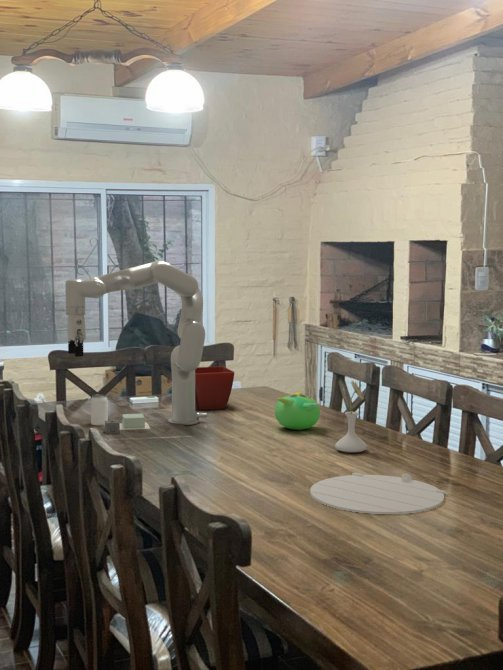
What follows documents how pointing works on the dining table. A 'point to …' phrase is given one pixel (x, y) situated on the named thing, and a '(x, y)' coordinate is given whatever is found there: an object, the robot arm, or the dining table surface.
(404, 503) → the lazy susan
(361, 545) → the dining table surface
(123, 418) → the sage brick
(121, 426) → the baseplate
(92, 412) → the can
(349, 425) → the flower in vase
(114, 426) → the dice cube
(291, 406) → the toy bird
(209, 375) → the plant pot
